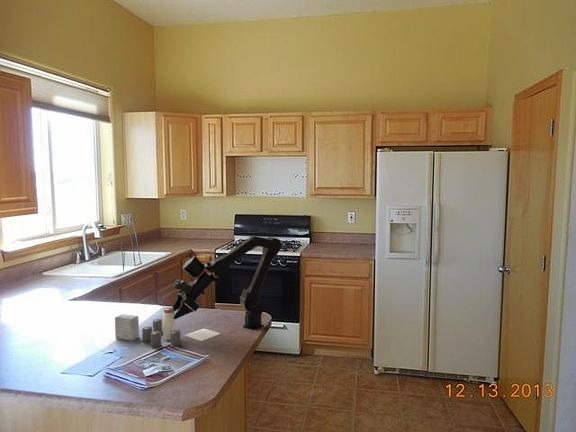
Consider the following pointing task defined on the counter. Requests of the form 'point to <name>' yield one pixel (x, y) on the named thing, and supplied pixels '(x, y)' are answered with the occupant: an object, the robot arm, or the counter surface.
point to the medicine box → (126, 327)
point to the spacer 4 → (175, 338)
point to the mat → (202, 334)
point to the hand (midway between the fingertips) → (172, 315)
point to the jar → (168, 323)
